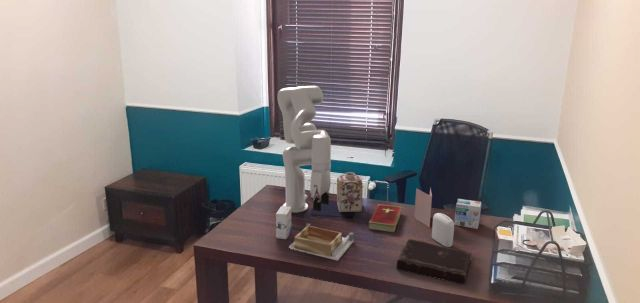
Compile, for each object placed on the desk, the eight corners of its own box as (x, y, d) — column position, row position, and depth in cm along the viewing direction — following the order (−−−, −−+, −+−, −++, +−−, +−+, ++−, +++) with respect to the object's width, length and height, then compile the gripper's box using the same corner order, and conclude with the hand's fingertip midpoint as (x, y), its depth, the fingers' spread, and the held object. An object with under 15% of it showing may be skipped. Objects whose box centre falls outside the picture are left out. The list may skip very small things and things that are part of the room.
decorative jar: (359, 202, 232) (360, 169, 227) (362, 212, 221) (363, 177, 216) (336, 202, 232) (336, 169, 226) (338, 212, 220) (338, 178, 215)
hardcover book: (368, 229, 204) (368, 221, 203) (377, 211, 223) (377, 203, 222) (394, 233, 200) (395, 225, 199) (401, 214, 219) (402, 206, 218)
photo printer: (430, 237, 196) (432, 211, 192) (437, 235, 198) (440, 209, 194) (446, 248, 187) (448, 221, 183) (454, 246, 189) (456, 219, 185)
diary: (464, 287, 162) (465, 275, 160) (396, 271, 172) (396, 259, 170) (470, 261, 178) (472, 250, 176) (408, 248, 188) (408, 237, 186)
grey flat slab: (307, 231, 202) (307, 223, 200) (353, 241, 192) (353, 233, 191) (288, 248, 187) (288, 239, 186) (337, 260, 178) (337, 251, 177)
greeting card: (431, 227, 205) (433, 196, 201) (414, 226, 206) (416, 195, 202) (430, 216, 216) (432, 187, 211) (414, 215, 217) (416, 186, 213)
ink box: (281, 229, 203) (280, 205, 200) (292, 230, 202) (291, 206, 199) (275, 238, 195) (275, 213, 192) (287, 239, 194) (286, 214, 191)
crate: (307, 235, 195) (307, 225, 194) (342, 243, 189) (342, 232, 187) (294, 248, 185) (294, 237, 183) (330, 256, 178) (330, 245, 177)
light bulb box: (453, 225, 207) (455, 203, 204) (455, 219, 213) (457, 198, 210) (478, 229, 203) (480, 207, 200) (479, 223, 209) (481, 201, 206)
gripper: (321, 158, 188) (321, 197, 193) (302, 170, 173) (303, 213, 178) (338, 160, 185) (338, 201, 190) (320, 173, 170) (320, 217, 175)
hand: (321, 206), depth 184 cm, fingers open, 6 cm apart
